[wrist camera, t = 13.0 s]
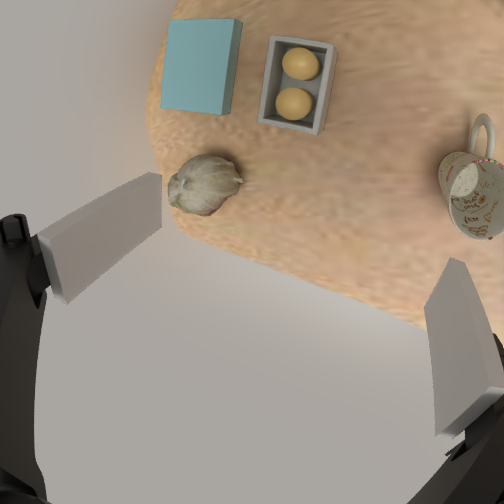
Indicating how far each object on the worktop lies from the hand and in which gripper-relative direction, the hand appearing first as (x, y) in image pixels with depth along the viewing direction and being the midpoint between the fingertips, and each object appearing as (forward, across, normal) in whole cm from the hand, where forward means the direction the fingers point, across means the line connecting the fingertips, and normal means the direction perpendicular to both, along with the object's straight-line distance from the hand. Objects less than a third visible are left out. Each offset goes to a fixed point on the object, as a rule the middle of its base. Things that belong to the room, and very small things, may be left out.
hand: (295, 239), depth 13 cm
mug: (+27, +15, +3) cm, 31 cm away
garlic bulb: (+27, -15, -8) cm, 32 cm away
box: (+27, -6, +6) cm, 28 cm away
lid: (+27, -19, +7) cm, 33 cm away
